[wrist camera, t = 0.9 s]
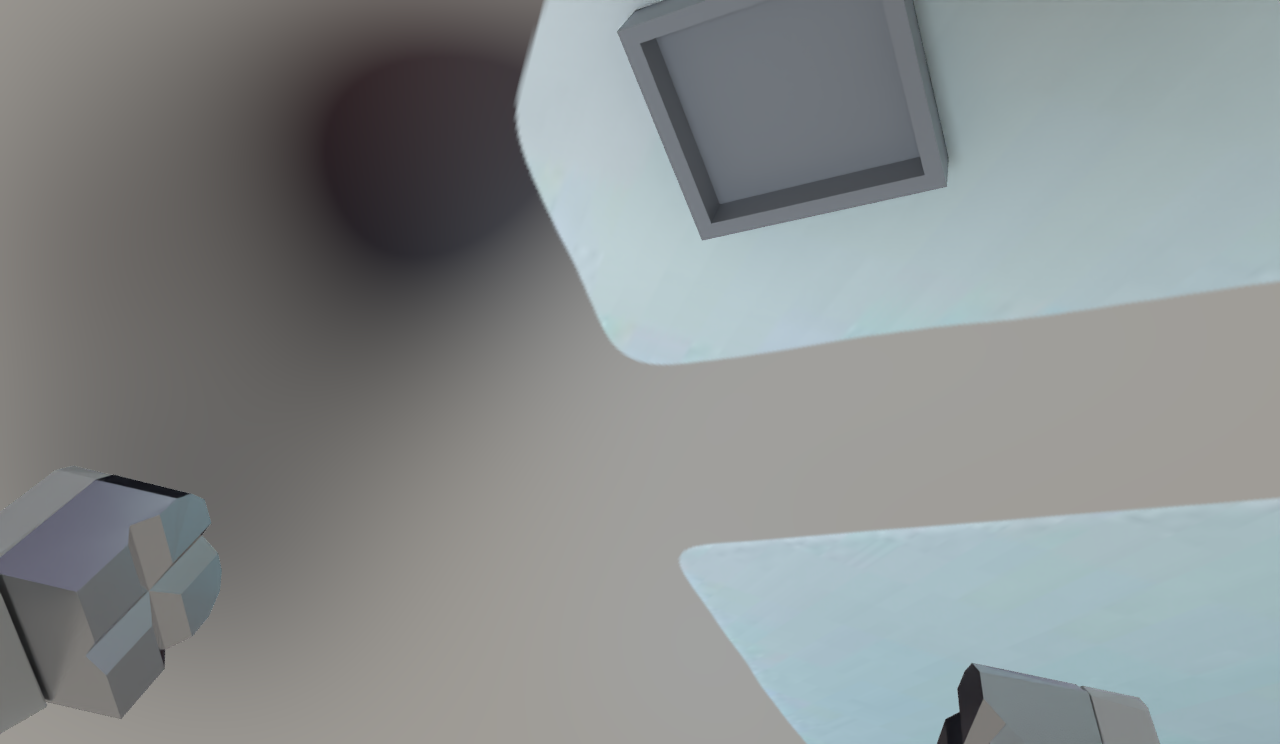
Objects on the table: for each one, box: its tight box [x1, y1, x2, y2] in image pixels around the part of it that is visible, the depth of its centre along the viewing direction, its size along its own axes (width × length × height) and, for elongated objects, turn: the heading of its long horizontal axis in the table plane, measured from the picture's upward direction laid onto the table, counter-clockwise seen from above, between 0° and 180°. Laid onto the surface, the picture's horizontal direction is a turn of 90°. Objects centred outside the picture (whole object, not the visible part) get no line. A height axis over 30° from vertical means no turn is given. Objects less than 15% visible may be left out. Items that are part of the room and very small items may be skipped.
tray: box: [617, 0, 948, 240], centre depth 41 cm, size 12×11×3 cm
